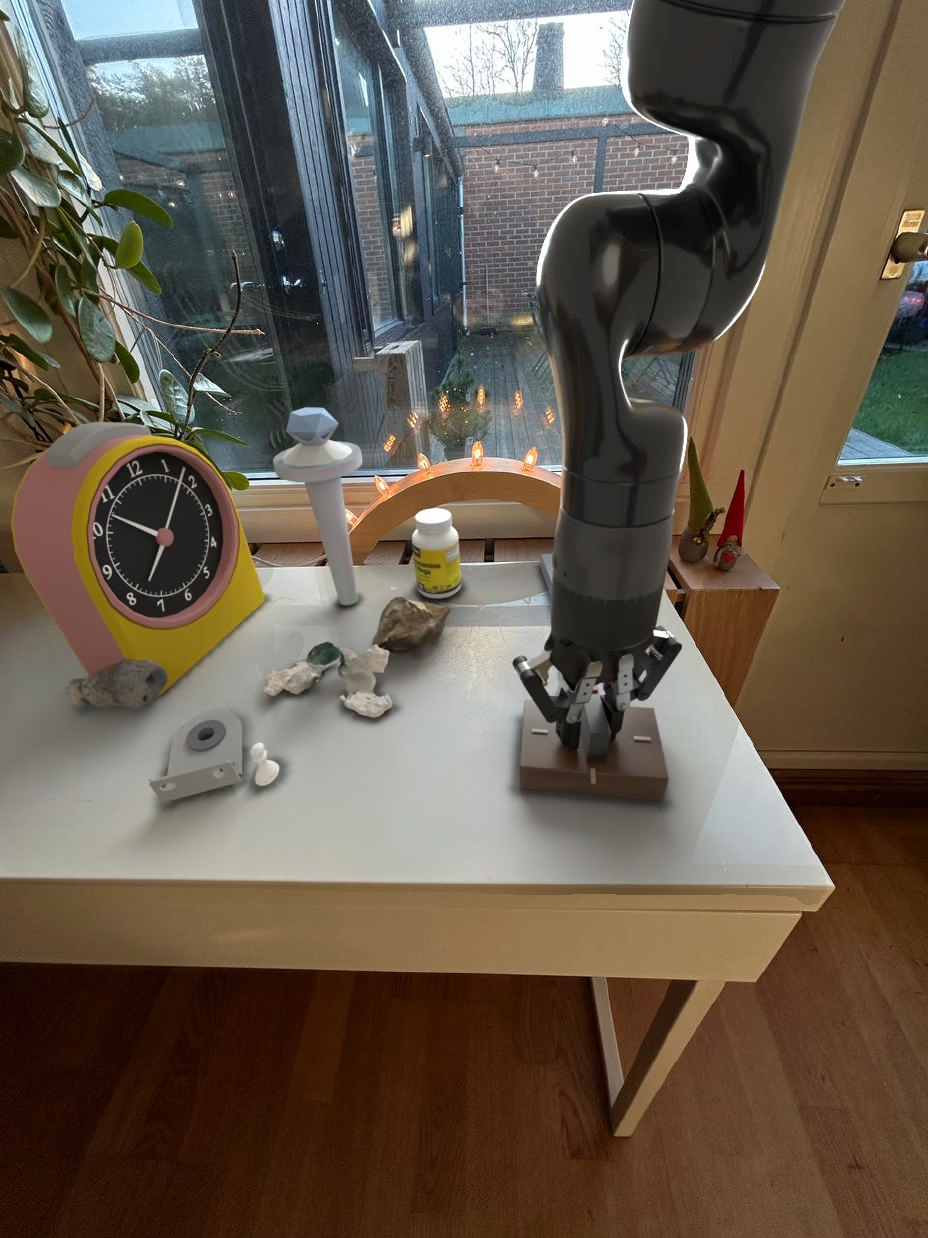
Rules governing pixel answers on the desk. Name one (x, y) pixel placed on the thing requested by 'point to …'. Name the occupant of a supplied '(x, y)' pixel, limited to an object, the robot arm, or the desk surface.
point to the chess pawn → (263, 765)
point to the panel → (624, 774)
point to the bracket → (202, 756)
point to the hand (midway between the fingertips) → (587, 737)
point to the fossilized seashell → (409, 625)
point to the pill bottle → (436, 554)
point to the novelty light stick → (324, 487)
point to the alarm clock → (133, 547)
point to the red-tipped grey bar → (595, 729)
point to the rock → (349, 668)
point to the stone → (119, 685)
